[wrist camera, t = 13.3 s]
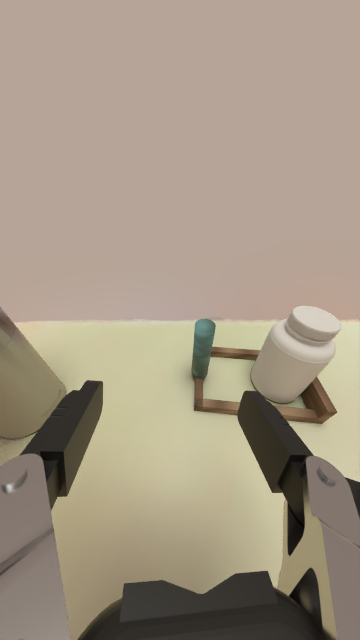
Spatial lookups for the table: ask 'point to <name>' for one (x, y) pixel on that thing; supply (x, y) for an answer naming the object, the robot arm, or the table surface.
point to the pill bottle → (295, 353)
